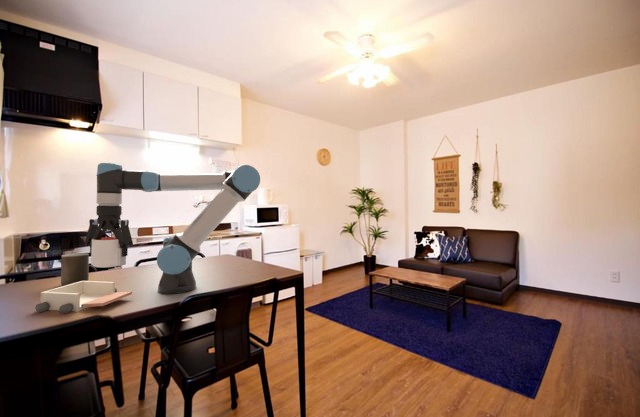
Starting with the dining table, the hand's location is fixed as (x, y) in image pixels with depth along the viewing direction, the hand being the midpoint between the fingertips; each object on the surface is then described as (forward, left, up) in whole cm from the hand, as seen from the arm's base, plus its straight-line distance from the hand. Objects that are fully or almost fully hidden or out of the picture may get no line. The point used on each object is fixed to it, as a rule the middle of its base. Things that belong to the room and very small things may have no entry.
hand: (108, 264), depth 106 cm
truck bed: (+11, 0, -15) cm, 19 cm away
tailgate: (+4, 0, -13) cm, 14 cm away
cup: (0, 0, 0) cm, 0 cm away
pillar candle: (+36, -22, -15) cm, 45 cm away
